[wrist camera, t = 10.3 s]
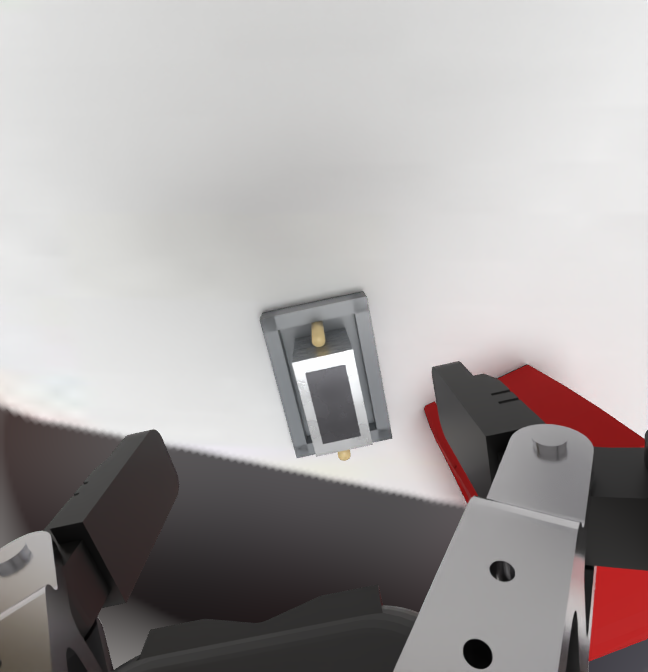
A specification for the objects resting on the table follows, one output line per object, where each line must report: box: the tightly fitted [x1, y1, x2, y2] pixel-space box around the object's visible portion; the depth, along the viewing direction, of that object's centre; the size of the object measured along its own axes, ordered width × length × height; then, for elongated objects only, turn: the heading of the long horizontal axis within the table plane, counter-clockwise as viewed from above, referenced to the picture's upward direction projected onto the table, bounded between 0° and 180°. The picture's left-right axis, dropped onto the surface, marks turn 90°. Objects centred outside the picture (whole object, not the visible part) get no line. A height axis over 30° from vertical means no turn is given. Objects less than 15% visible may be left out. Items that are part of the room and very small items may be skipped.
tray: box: [260, 292, 392, 461], centre depth 33 cm, size 9×13×6 cm, turn 12°
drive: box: [292, 328, 373, 456], centre depth 33 cm, size 4×8×6 cm, turn 12°
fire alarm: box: [424, 365, 648, 661], centre depth 32 cm, size 16×11×15 cm
